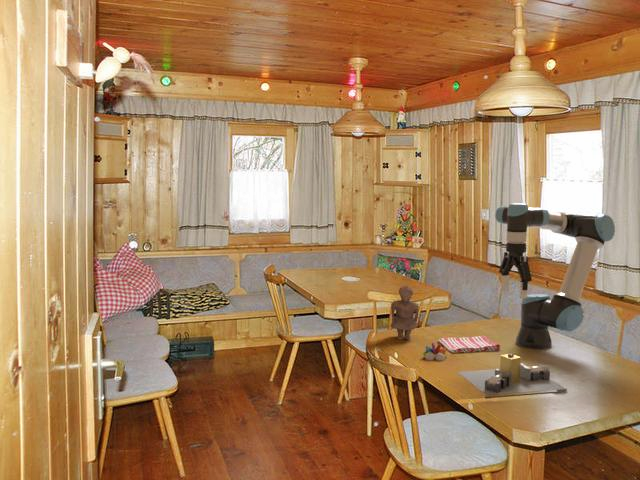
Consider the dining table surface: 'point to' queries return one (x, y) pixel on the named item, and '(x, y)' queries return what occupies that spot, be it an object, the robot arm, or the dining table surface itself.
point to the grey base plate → (516, 387)
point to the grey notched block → (498, 381)
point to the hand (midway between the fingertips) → (513, 294)
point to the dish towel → (468, 344)
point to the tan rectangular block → (511, 365)
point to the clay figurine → (404, 313)
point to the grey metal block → (534, 373)
